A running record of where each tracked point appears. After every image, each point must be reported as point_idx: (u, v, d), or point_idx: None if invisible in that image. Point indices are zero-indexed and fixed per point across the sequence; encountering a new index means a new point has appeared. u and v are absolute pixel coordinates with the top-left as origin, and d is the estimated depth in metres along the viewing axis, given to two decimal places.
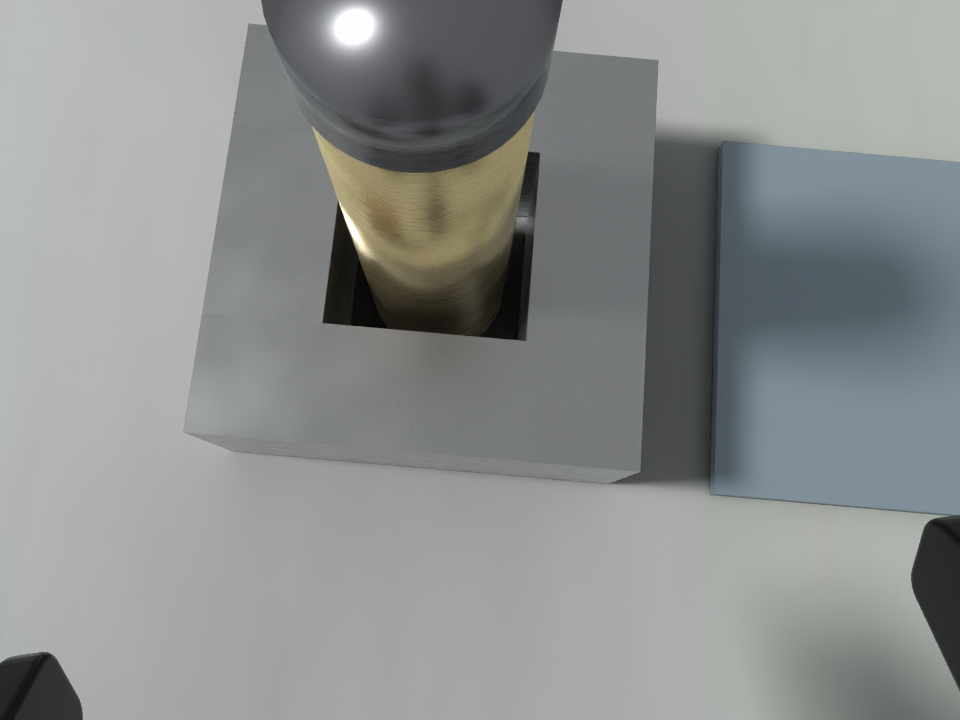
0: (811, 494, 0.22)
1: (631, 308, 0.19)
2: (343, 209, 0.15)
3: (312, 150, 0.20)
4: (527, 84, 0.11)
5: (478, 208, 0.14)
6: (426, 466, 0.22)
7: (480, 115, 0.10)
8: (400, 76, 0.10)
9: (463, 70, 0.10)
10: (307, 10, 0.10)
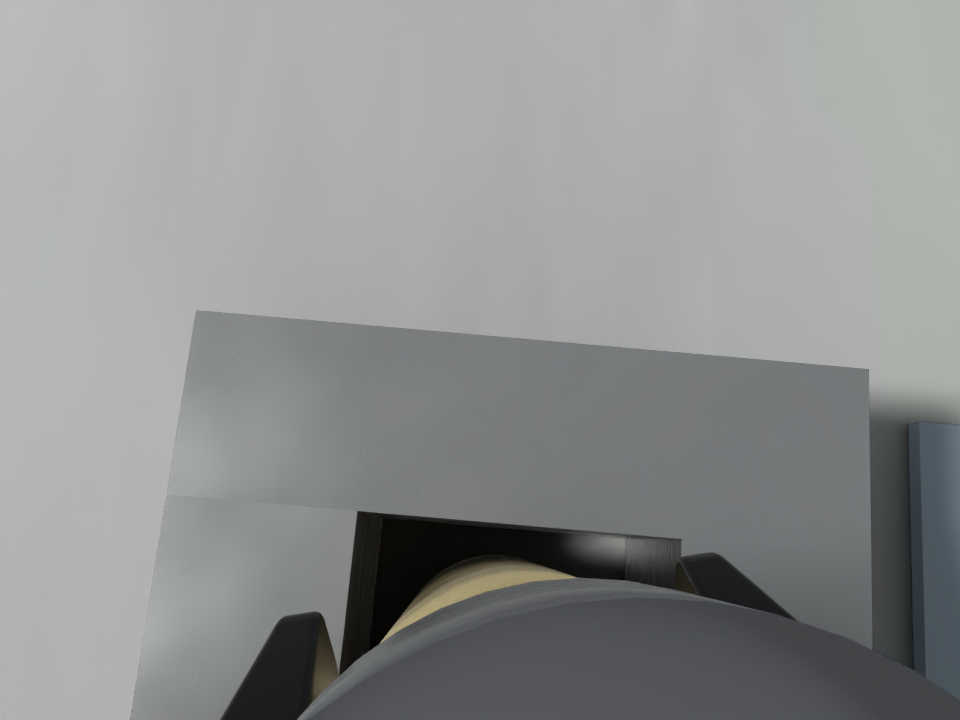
0: None
1: None
2: None
3: (300, 538, 0.12)
4: None
5: None
6: None
7: None
8: None
9: None
10: None
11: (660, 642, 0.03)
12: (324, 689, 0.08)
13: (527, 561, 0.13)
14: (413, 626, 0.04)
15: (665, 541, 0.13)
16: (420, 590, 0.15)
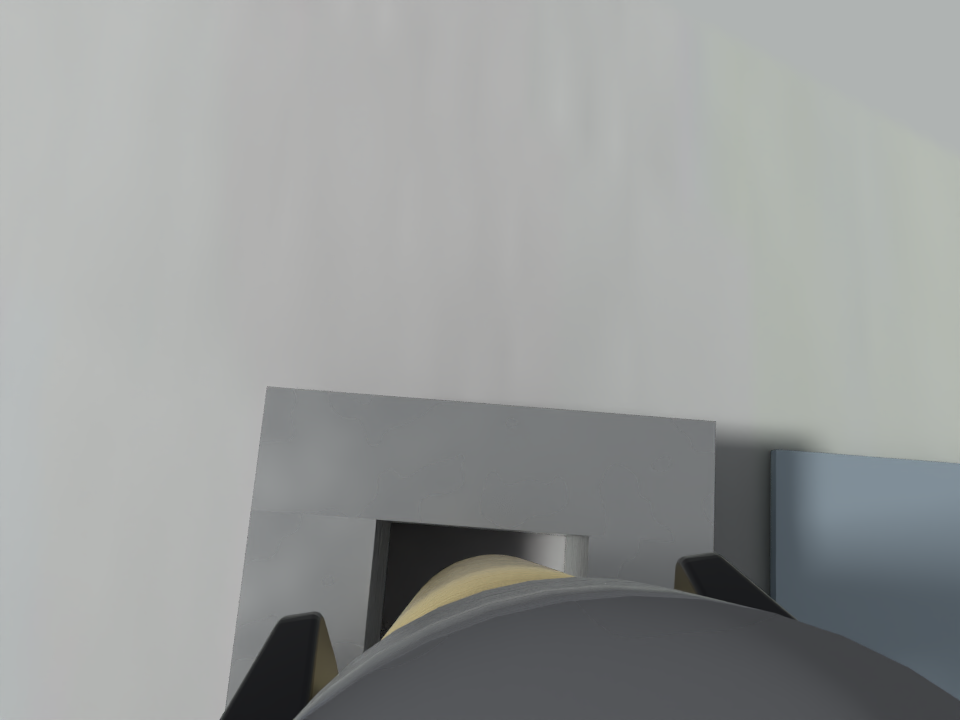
0: None
1: None
2: None
3: (339, 537, 0.18)
4: None
5: None
6: None
7: None
8: None
9: None
10: None
11: (657, 641, 0.03)
12: None
13: None
14: (411, 625, 0.04)
15: (582, 537, 0.19)
16: (420, 590, 0.15)
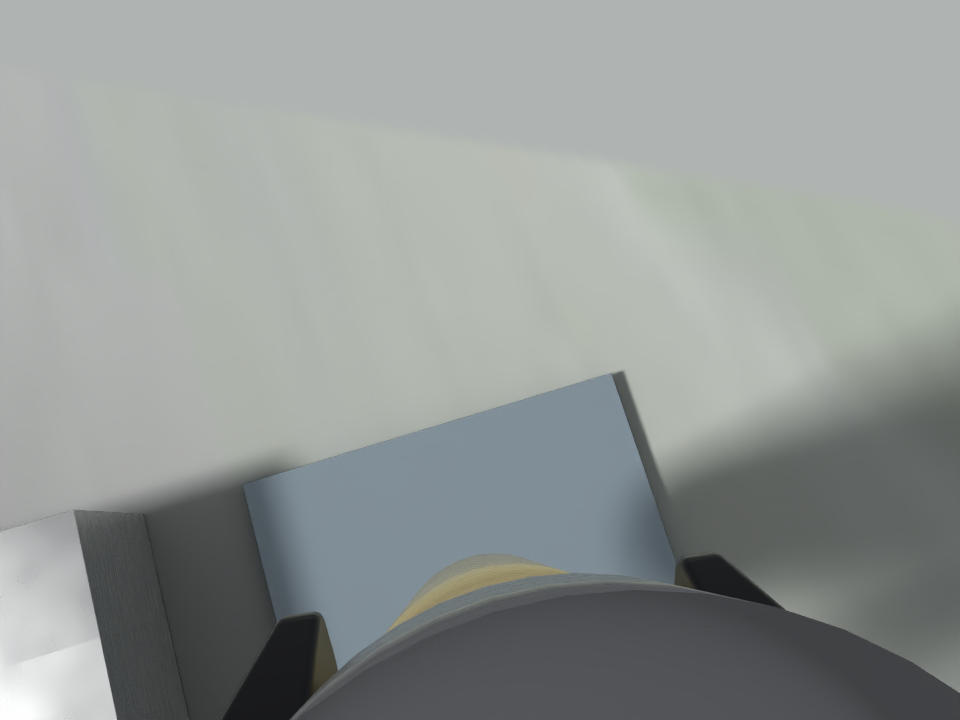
0: None
1: None
2: None
3: None
4: None
5: None
6: None
7: None
8: None
9: None
10: None
11: (658, 635, 0.03)
12: None
13: (527, 559, 0.13)
14: (412, 621, 0.04)
15: None
16: None
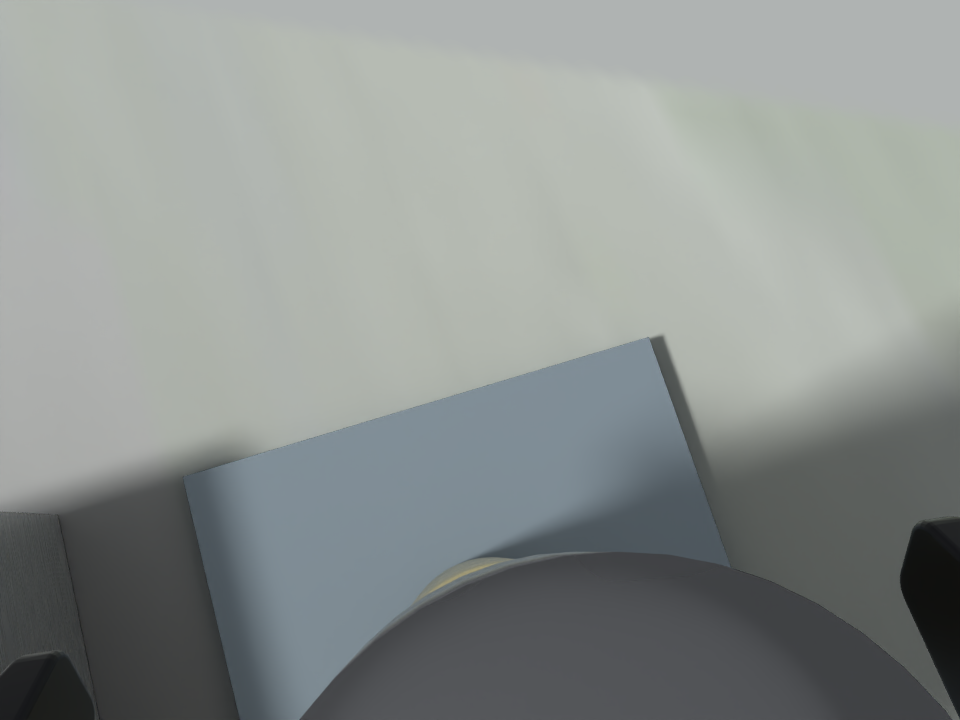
0: None
1: None
2: None
3: None
4: None
5: None
6: None
7: None
8: None
9: None
10: None
11: (634, 584, 0.04)
12: None
13: None
14: (442, 588, 0.05)
15: None
16: None
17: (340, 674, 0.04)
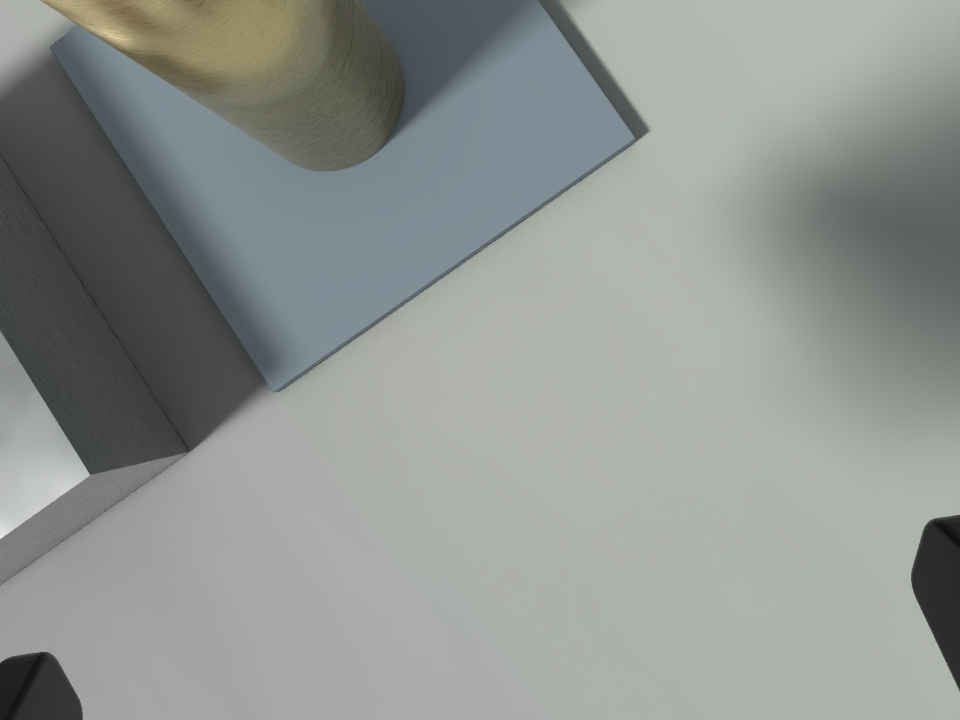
0: (356, 323, 0.19)
1: None
2: None
3: None
4: None
5: None
6: (23, 564, 0.20)
7: None
8: None
9: None
10: None
11: None
12: None
13: None
14: None
15: None
16: None
17: None
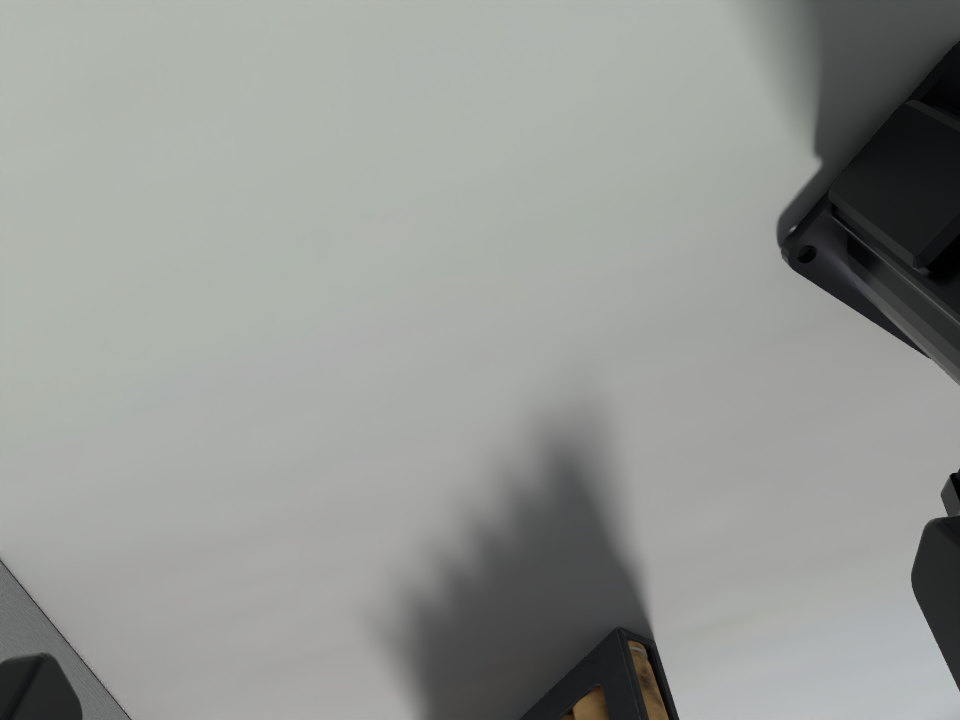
0: None
1: None
2: None
3: None
4: None
5: None
6: (68, 662, 0.26)
7: None
8: None
9: None
10: None
11: None
12: None
13: None
14: None
15: None
16: None
17: None
